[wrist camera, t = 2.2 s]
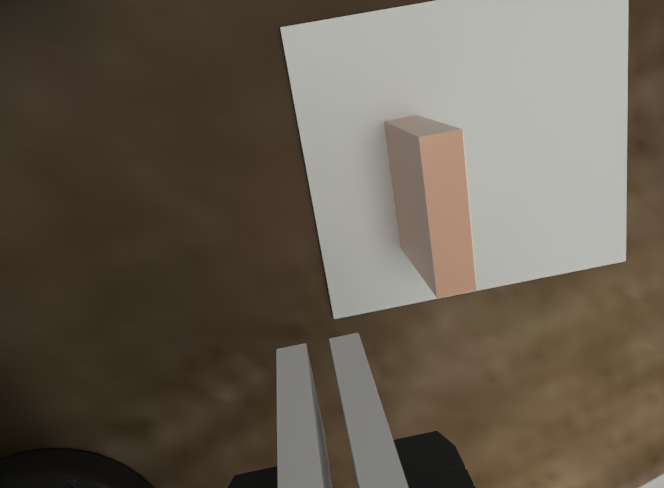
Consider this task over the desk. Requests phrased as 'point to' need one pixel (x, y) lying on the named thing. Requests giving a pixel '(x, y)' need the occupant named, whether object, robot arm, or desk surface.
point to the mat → (467, 135)
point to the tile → (432, 202)
